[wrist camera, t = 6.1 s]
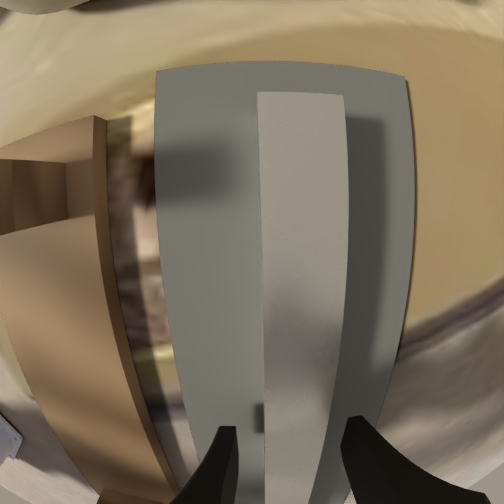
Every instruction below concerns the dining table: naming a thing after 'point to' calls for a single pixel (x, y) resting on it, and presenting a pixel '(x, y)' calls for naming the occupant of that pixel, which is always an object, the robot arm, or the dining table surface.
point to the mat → (248, 248)
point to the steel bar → (300, 279)
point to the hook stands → (75, 311)
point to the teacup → (39, 5)
